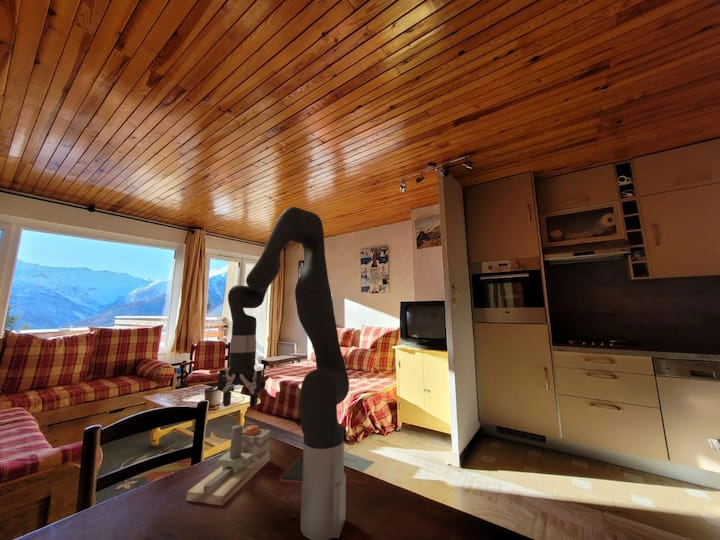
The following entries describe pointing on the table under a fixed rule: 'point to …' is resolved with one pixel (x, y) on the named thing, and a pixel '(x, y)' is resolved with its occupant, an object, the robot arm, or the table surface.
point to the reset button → (251, 430)
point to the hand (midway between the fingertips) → (239, 406)
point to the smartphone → (294, 472)
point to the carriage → (235, 452)
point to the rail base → (223, 486)
